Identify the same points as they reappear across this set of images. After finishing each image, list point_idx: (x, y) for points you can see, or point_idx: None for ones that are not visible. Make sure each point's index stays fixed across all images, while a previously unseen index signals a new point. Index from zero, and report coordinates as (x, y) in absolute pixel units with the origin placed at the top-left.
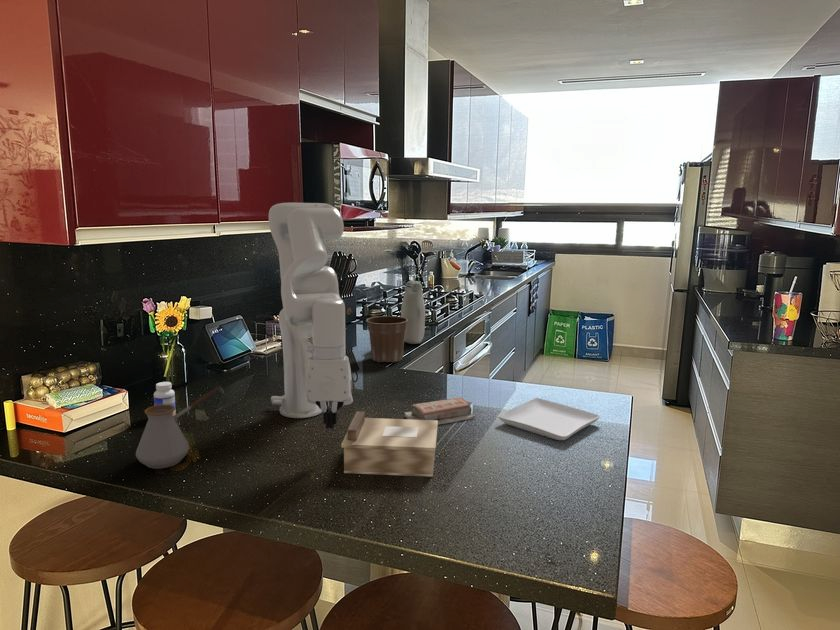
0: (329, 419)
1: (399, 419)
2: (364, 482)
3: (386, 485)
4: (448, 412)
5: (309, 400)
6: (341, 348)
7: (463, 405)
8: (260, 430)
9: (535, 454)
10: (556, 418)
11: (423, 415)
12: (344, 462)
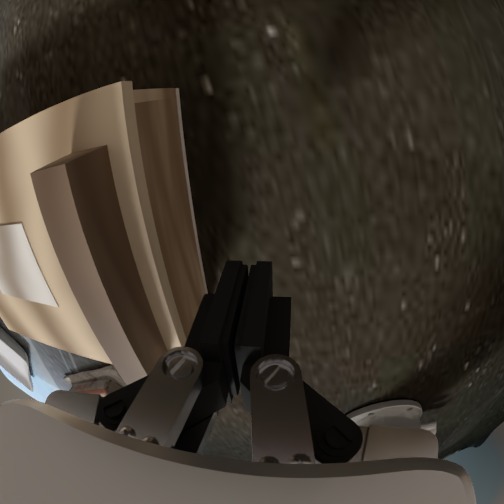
0: (235, 304)
1: (64, 348)
2: (101, 50)
3: (51, 62)
4: (81, 389)
5: (419, 447)
6: None
7: None
8: (471, 346)
9: None
10: (2, 349)
11: (105, 388)
12: (158, 88)
